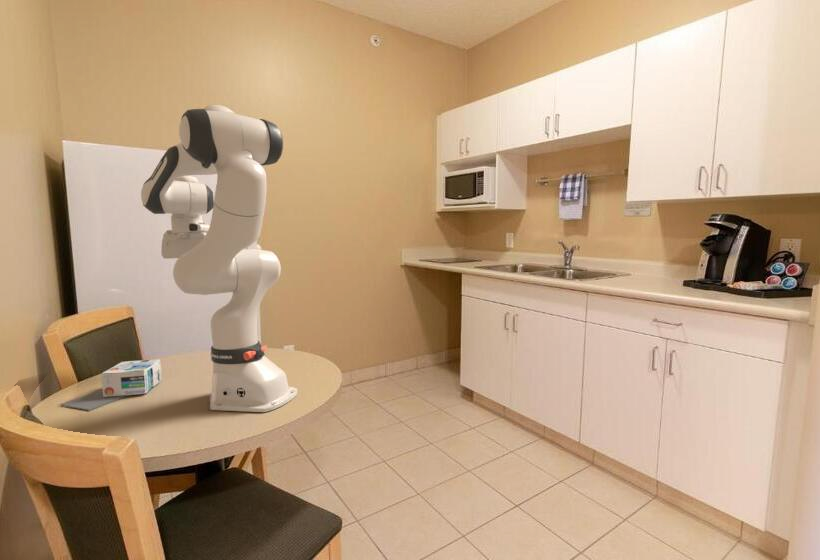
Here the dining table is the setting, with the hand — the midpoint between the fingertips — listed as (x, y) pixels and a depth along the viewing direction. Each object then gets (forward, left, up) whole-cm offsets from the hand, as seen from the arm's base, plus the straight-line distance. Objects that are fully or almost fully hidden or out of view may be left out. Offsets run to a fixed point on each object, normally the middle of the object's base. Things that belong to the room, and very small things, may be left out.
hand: (190, 271), depth 129 cm
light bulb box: (+4, +16, -28) cm, 32 cm away
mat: (+4, +27, -31) cm, 42 cm away
